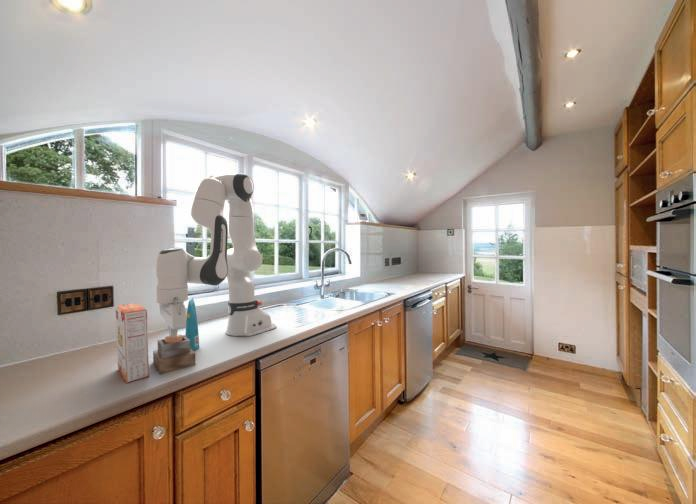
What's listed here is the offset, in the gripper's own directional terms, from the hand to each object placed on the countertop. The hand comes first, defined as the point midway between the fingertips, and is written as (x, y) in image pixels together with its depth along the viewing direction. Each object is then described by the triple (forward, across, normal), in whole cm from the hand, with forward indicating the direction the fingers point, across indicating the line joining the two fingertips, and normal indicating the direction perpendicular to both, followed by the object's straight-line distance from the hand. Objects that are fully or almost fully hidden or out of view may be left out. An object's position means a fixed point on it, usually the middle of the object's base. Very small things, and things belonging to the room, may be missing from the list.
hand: (173, 337), depth 93 cm
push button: (+5, 0, 0) cm, 5 cm away
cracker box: (+9, +1, +11) cm, 14 cm away
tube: (+9, +11, -8) cm, 17 cm away
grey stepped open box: (+9, 0, 0) cm, 9 cm away
